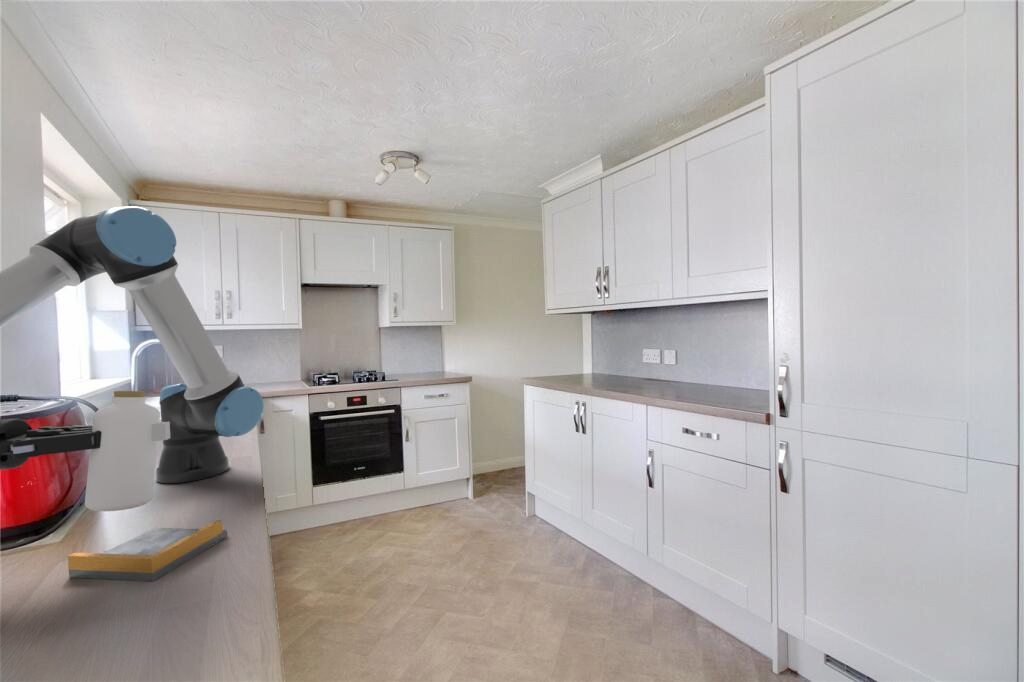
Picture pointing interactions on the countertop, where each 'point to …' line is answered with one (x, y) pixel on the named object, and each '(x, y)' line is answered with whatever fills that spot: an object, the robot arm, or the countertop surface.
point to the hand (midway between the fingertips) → (167, 430)
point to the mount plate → (146, 554)
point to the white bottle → (122, 454)
